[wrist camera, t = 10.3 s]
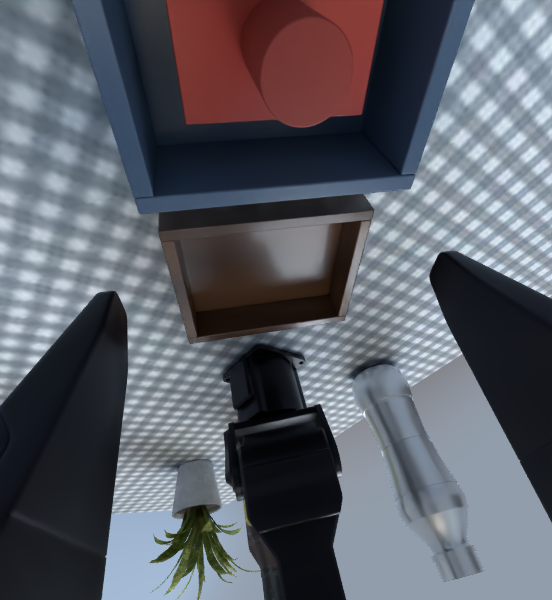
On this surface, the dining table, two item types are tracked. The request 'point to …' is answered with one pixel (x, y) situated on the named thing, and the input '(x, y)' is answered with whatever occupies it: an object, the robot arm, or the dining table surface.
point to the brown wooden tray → (264, 264)
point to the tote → (267, 133)
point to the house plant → (196, 523)
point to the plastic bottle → (417, 471)
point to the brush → (273, 58)
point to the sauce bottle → (264, 563)
